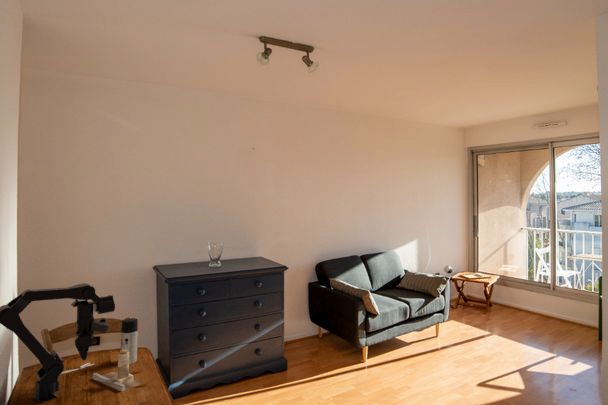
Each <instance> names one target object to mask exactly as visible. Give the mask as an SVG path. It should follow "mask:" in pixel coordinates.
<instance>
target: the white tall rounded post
mask: <svg viewBox="0 0 608 405" xmlns="http://www.w3.org/2000/svg"><path fill="white" fill-rule="evenodd" d="M117 373H118V376H115V377H113V380H115V381H116V382H119V383H121V384H123V385H127V384H129V383H132V382H133V381H134V377H135V376H134V375H133V374H132V373H130V364H129V352H127V349H122V350H121V349H120V350H119V353H118V354H117Z"/></svg>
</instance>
